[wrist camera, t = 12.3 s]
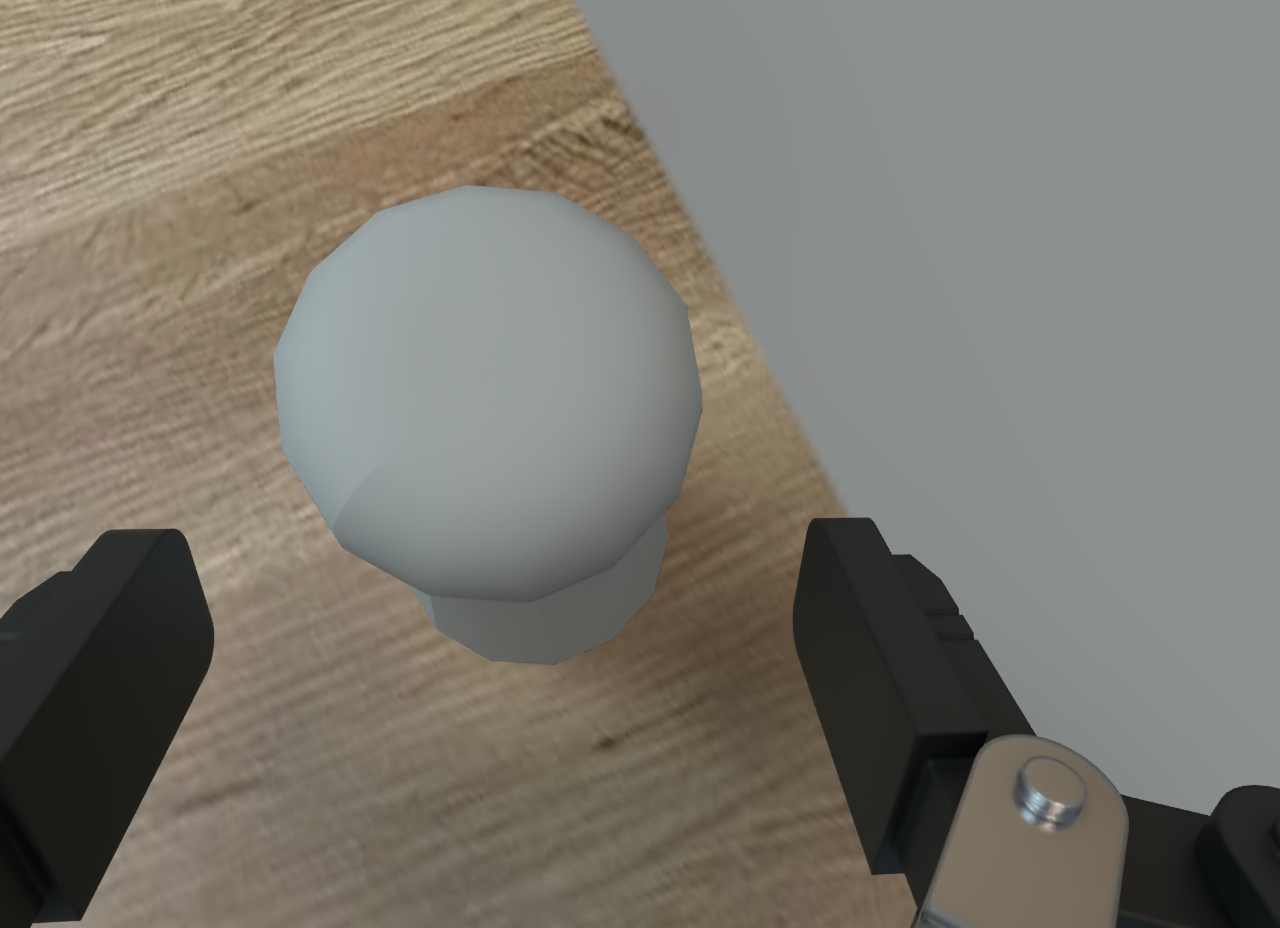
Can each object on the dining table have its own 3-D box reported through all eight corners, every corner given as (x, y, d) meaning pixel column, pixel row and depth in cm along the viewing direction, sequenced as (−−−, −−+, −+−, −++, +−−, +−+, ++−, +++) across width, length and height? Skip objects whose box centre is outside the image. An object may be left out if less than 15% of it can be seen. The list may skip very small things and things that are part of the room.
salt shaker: (408, 446, 20) (140, 97, 8) (633, 414, 21) (730, 47, 8) (434, 684, 19) (164, 742, 6) (673, 643, 20) (858, 619, 7)
